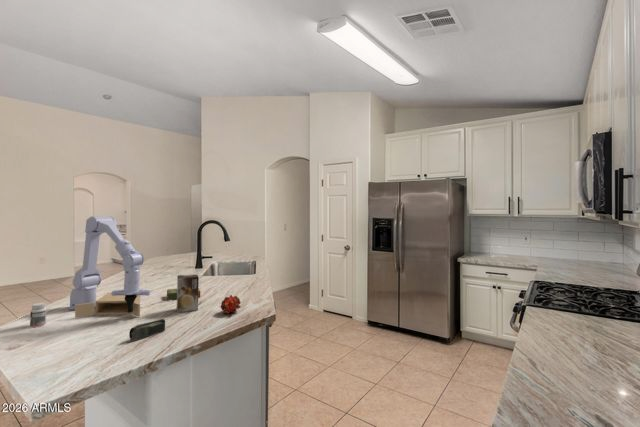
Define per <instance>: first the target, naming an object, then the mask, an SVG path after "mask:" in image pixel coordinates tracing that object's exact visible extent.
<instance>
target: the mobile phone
mask: <svg viewBox="0 0 640 427" xmlns="http://www.w3.org/2000/svg"><path fill="white" fill-rule="evenodd" d="M165 329H166V320H165V319H164V318H162V319H157V320H153V321H149V322H144V323H141V324H137V325H135V326H133V327H131V328H130V329H129V332H128V333H129V339H130V340H127V342H126V343H127V344H129V343H132V342H135V341H138V340H142V339H145V338H148V337H151V336H154V335H158V334H160V333H163V332H164V331H165Z"/></svg>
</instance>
